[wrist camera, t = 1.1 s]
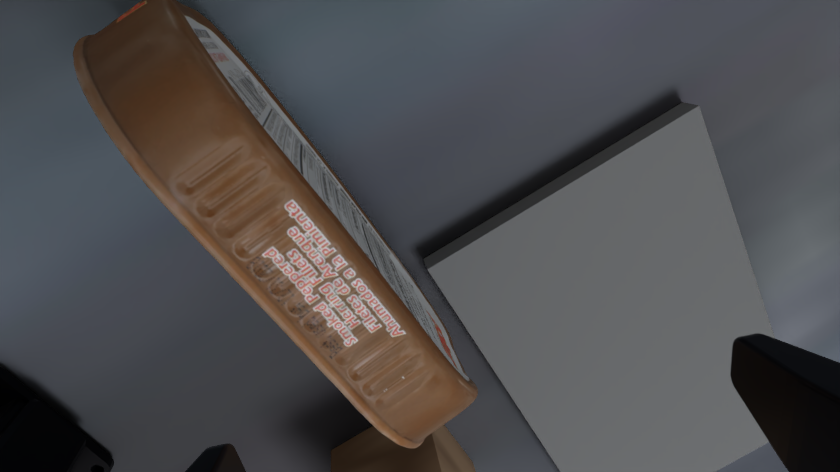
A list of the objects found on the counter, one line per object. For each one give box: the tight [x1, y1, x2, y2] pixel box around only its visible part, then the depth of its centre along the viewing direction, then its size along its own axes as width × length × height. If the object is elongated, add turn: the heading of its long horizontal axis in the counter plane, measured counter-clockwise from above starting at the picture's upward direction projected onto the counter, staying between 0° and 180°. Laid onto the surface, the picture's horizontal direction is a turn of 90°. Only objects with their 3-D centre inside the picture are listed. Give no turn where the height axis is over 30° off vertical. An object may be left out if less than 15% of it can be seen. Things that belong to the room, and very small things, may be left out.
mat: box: [423, 102, 775, 472], centre depth 24 cm, size 12×19×1 cm, turn 30°
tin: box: [73, 0, 478, 448], centre depth 16 cm, size 15×3×8 cm, turn 33°
